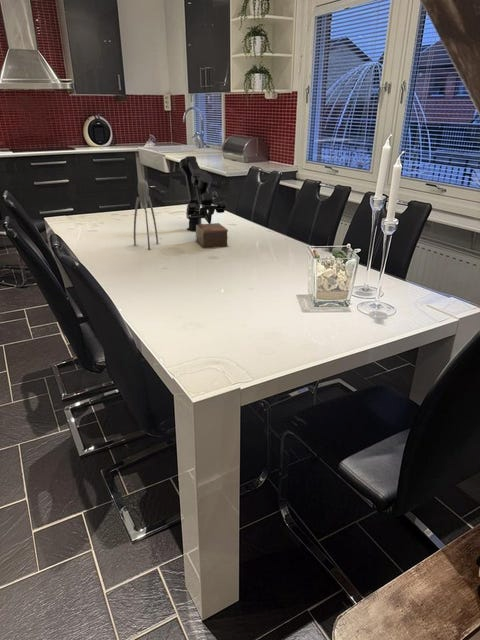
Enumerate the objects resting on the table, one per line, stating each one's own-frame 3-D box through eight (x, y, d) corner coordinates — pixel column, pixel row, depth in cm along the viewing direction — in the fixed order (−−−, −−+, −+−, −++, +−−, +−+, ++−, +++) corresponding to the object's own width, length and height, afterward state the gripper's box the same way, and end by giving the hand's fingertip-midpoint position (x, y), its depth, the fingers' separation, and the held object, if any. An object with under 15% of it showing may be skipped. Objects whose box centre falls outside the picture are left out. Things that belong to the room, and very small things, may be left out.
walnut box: (227, 246, 220) (227, 231, 217) (203, 248, 217) (203, 232, 214) (218, 239, 232) (218, 224, 229) (196, 241, 228) (195, 226, 226)
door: (227, 231, 217) (227, 229, 216) (203, 233, 213) (203, 231, 213) (218, 224, 229) (218, 223, 229) (195, 226, 225) (195, 224, 225)
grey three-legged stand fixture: (149, 249, 213) (144, 182, 201) (129, 248, 215) (123, 181, 203) (158, 243, 223) (154, 178, 211) (139, 242, 225) (133, 177, 213)
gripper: (187, 186, 217) (193, 214, 212) (225, 184, 222) (232, 212, 217) (183, 200, 227) (189, 227, 222) (220, 198, 232) (227, 225, 227)
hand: (210, 223), depth 222 cm, fingers closed
